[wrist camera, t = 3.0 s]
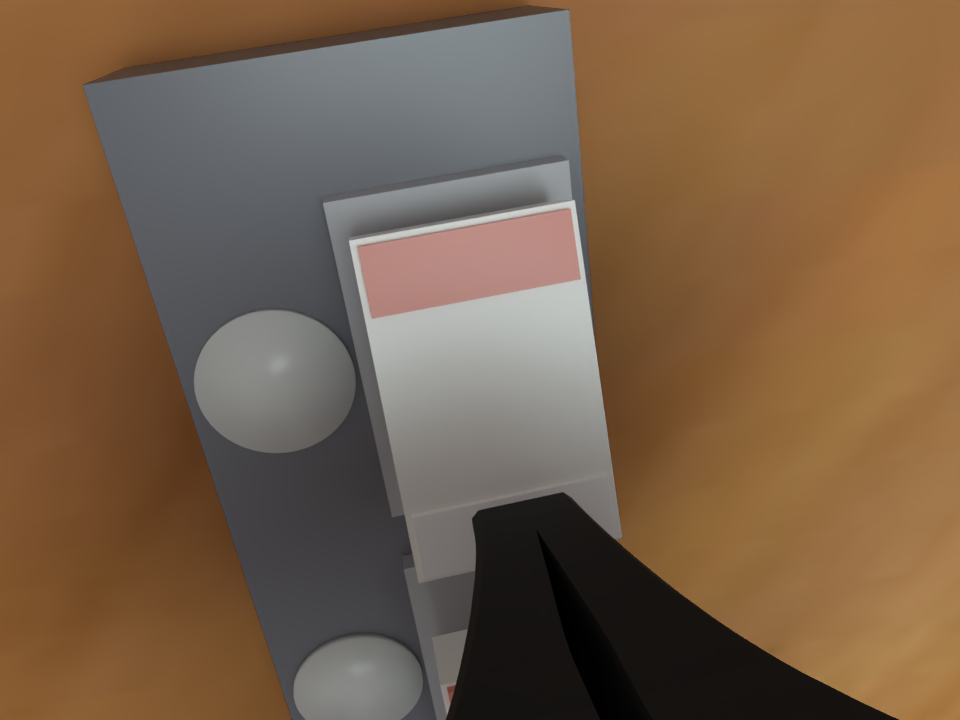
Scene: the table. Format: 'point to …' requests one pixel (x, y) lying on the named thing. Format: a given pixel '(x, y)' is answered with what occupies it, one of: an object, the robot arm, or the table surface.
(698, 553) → the table surface
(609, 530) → the rocker outer
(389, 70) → the power strip
